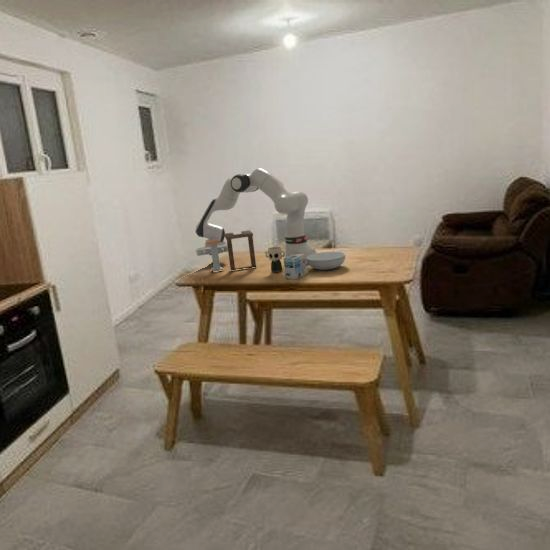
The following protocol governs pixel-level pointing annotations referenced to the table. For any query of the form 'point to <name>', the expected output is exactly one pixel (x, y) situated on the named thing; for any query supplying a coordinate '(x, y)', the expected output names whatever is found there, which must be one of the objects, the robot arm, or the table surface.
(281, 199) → the robot arm
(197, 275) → the table surface
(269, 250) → the character mug
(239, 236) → the brown wooden frame rack
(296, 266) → the light bulb box
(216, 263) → the hanging peg
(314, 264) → the serving bowl
